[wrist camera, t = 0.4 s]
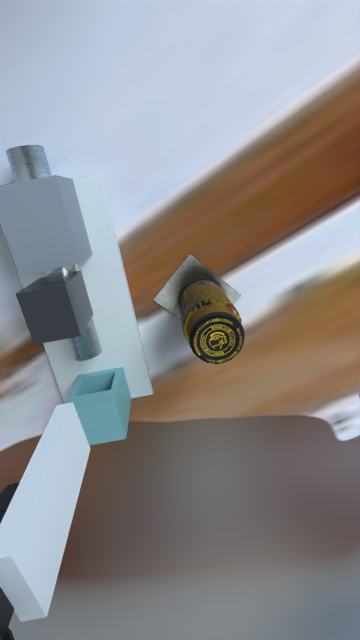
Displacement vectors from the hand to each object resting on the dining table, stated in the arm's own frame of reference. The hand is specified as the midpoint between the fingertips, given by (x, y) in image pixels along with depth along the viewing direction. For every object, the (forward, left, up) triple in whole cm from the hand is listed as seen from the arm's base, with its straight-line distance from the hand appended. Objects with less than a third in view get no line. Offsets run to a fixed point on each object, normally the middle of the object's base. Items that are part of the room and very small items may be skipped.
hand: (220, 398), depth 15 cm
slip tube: (-4, -13, -25) cm, 28 cm away
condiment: (+3, +1, -27) cm, 27 cm away
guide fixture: (+2, -13, -27) cm, 30 cm away
